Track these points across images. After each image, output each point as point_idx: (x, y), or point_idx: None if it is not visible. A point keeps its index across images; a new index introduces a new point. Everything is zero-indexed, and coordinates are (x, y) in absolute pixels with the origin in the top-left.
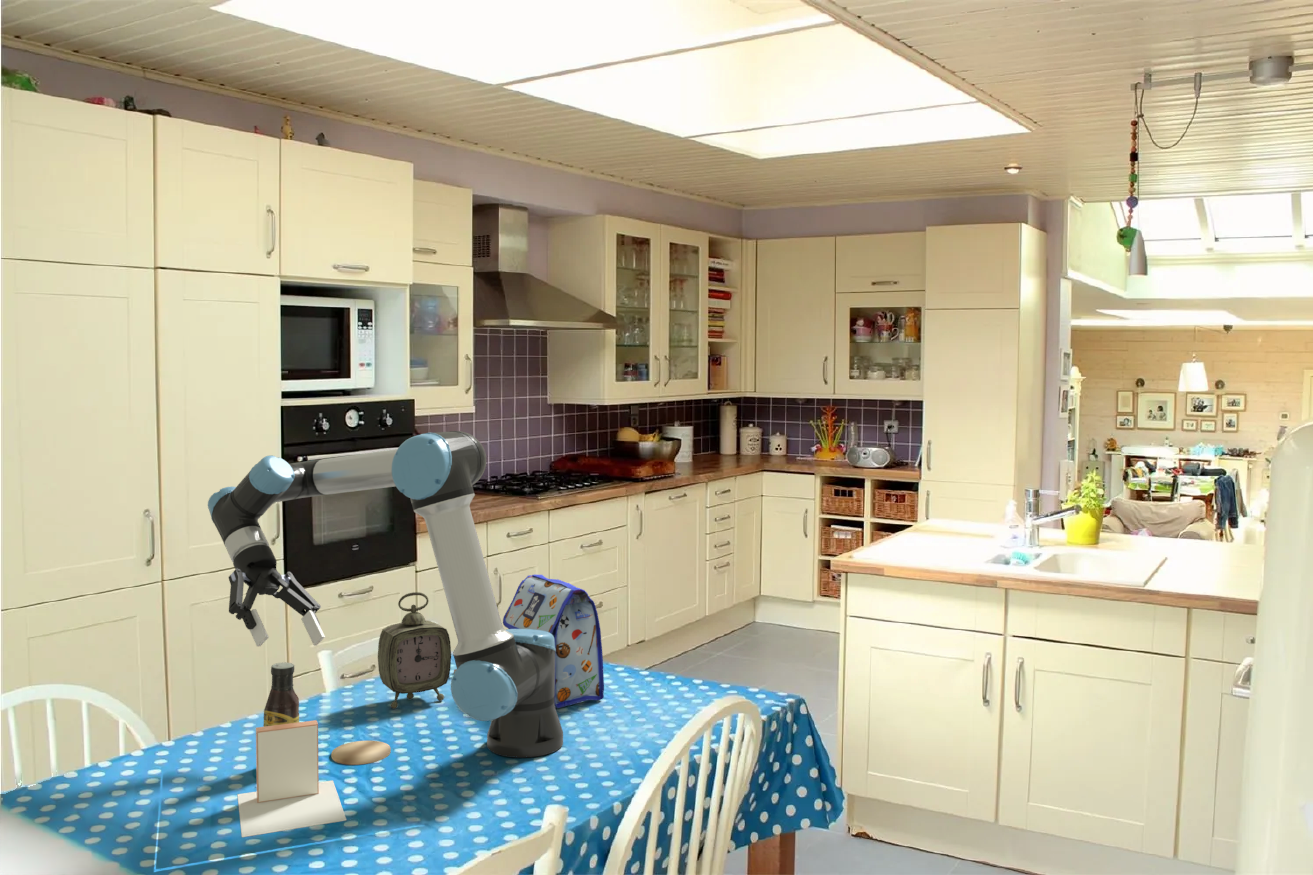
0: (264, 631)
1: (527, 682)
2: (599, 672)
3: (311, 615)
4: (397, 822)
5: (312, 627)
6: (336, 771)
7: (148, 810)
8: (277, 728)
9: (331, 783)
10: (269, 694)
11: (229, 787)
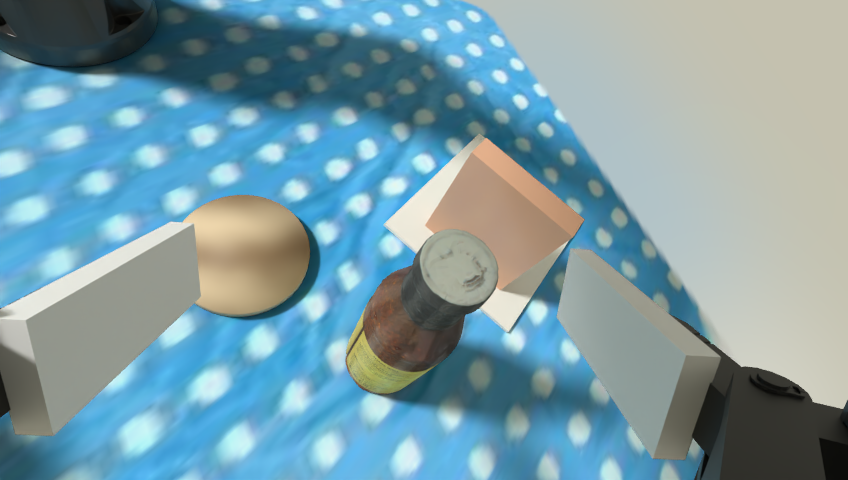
0: (598, 262)
1: None
2: None
3: (75, 295)
4: (445, 84)
5: (143, 294)
6: (339, 250)
7: (619, 428)
8: (548, 194)
9: (396, 218)
10: (459, 326)
11: (490, 380)
